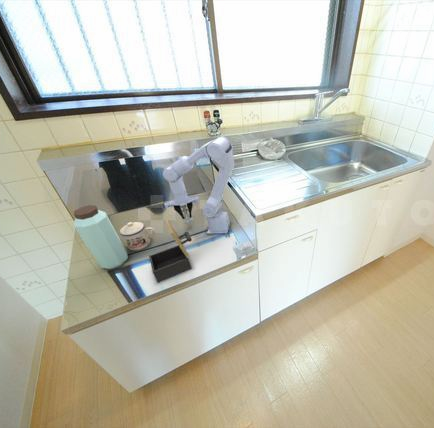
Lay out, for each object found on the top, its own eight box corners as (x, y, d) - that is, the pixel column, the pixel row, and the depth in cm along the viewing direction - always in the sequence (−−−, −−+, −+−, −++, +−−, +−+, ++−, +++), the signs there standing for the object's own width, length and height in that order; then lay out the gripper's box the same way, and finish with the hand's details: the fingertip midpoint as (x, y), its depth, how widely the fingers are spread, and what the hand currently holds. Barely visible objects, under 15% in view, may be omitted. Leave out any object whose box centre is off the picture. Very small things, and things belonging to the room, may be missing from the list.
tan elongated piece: (170, 233, 79) (184, 226, 81) (165, 219, 86) (177, 213, 88) (187, 258, 87) (198, 251, 89) (180, 243, 94) (191, 237, 96)
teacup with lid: (127, 253, 98) (115, 232, 92) (128, 241, 105) (118, 220, 98) (158, 245, 102) (149, 224, 96) (158, 233, 109) (149, 213, 103)
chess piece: (190, 218, 115) (185, 200, 109) (195, 221, 112) (189, 204, 107) (182, 222, 112) (176, 204, 107) (186, 225, 110) (180, 207, 104)
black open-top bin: (157, 283, 85) (152, 272, 82) (153, 266, 92) (148, 255, 89) (191, 268, 91) (188, 258, 87) (185, 253, 98) (181, 243, 95)
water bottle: (108, 274, 88) (74, 221, 75) (96, 264, 93) (61, 212, 79) (134, 258, 96) (107, 207, 82) (121, 250, 100) (94, 200, 86)
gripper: (160, 199, 98) (170, 225, 105) (196, 192, 102) (203, 217, 110) (161, 192, 103) (170, 217, 111) (195, 185, 108) (202, 210, 115)
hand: (187, 217), depth 111 cm, fingers closed on chess piece, 3 cm apart
